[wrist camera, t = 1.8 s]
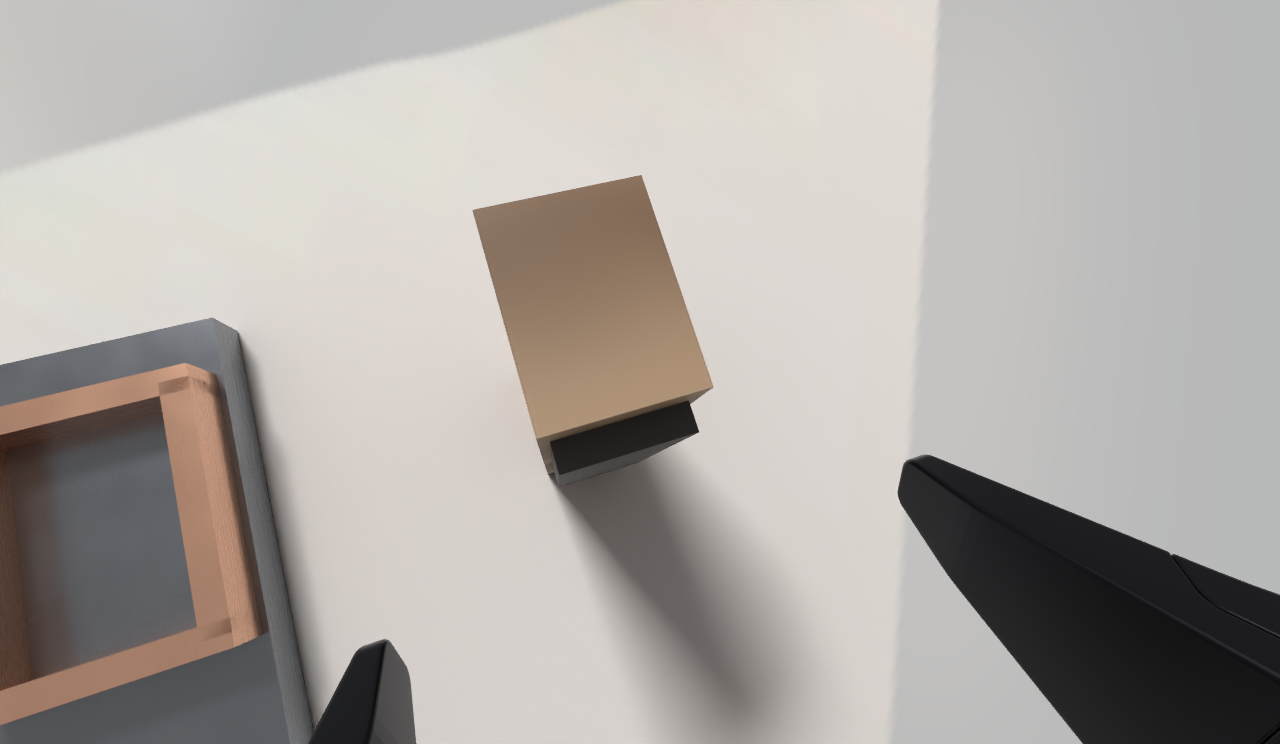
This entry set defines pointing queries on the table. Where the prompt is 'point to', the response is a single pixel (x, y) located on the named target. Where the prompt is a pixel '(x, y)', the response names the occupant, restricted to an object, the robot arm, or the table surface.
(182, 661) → the rail
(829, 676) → the table surface
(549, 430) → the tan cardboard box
